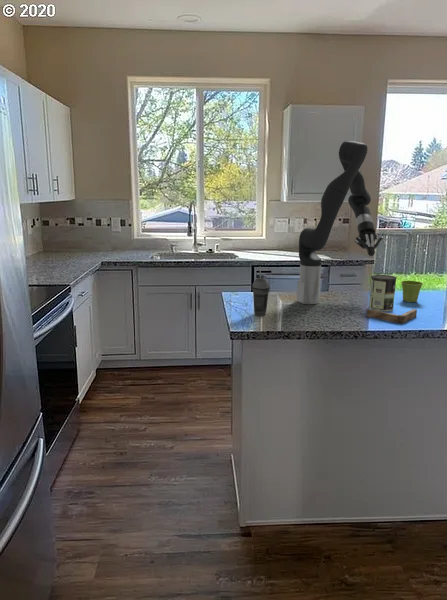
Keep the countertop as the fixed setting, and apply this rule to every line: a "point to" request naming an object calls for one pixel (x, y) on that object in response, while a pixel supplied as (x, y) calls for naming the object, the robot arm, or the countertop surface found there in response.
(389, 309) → the coffee can
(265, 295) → the beverage cup
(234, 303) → the countertop surface
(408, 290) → the plant pot
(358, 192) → the robot arm
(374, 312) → the bracket
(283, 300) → the countertop surface
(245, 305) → the countertop surface
